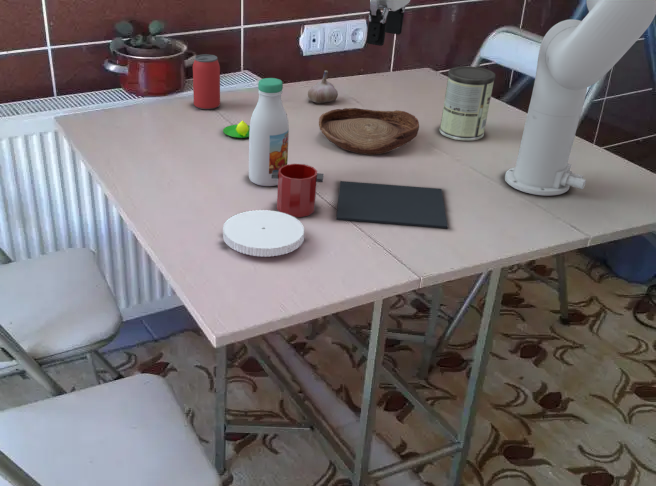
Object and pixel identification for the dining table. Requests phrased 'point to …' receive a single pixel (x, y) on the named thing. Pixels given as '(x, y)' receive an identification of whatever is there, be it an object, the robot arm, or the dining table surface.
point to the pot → (296, 189)
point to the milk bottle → (268, 134)
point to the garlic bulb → (323, 91)
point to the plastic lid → (263, 233)
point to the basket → (368, 129)
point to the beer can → (206, 81)
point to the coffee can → (466, 102)
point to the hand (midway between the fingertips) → (384, 38)
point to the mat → (391, 204)
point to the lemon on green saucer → (238, 130)
